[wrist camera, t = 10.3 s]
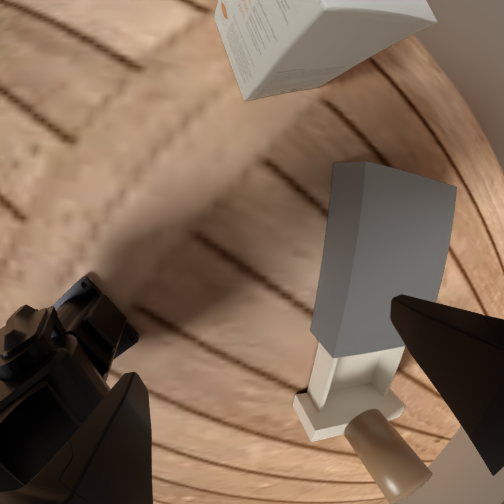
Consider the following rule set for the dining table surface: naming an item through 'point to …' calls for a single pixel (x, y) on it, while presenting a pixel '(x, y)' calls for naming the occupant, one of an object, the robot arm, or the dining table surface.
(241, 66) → the small box
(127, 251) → the dining table surface
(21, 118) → the dining table surface
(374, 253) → the grey drawer housing
